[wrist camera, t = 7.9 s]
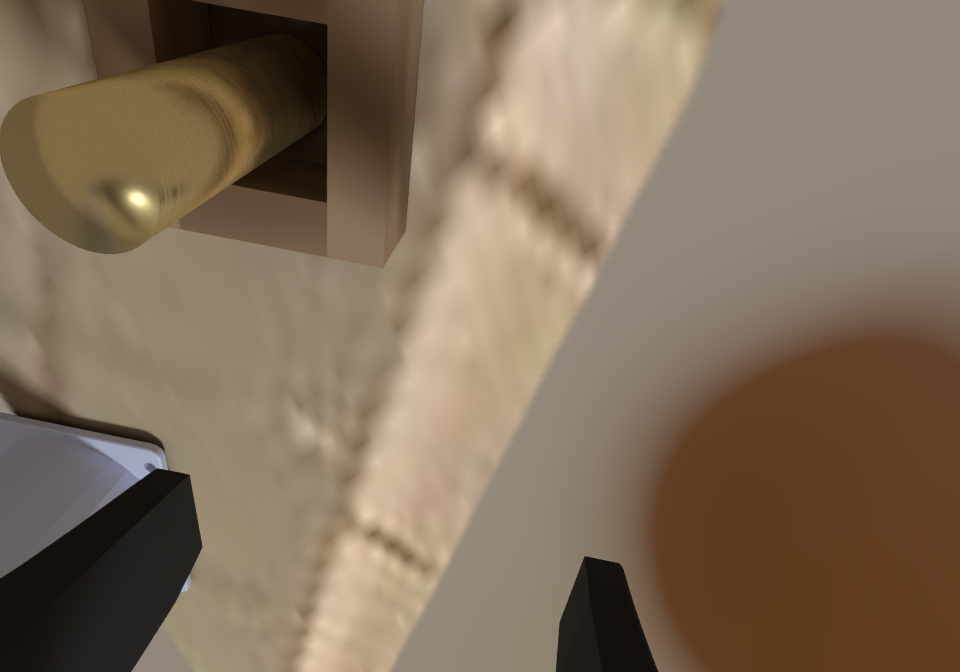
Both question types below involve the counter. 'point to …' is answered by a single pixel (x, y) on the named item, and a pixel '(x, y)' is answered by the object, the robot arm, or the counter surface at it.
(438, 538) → the counter surface
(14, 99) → the counter surface
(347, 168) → the socket block
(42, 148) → the brass pin
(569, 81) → the counter surface
